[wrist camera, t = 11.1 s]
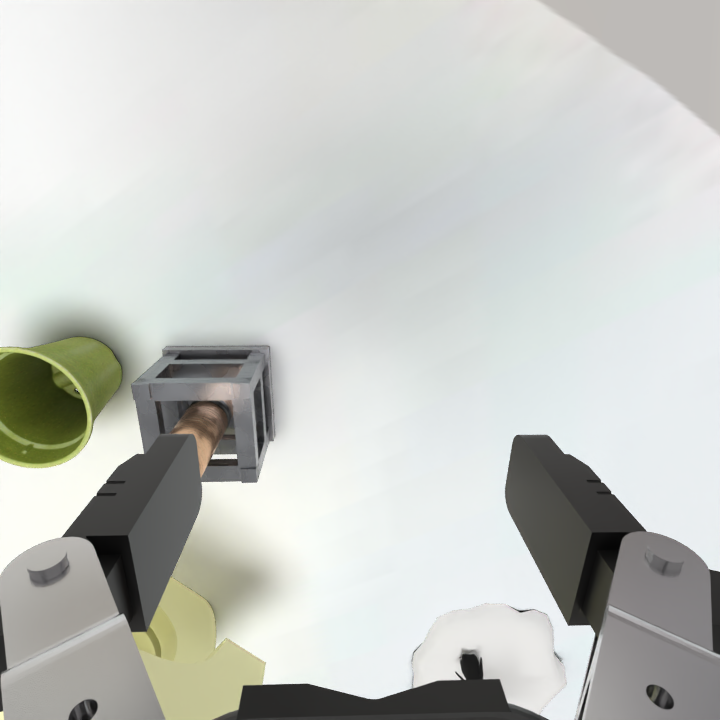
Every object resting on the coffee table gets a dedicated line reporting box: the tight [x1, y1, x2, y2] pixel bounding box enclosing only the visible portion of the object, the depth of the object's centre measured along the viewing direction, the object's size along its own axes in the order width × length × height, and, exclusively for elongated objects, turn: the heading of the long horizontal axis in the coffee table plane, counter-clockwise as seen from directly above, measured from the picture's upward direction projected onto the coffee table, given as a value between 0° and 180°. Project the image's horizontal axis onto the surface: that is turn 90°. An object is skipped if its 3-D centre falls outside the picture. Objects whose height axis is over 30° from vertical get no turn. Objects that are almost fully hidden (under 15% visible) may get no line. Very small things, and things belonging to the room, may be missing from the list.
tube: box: [169, 400, 233, 477], centre depth 33 cm, size 4×4×16 cm
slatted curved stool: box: [0, 577, 266, 720], centre depth 42 cm, size 30×16×18 cm, turn 135°
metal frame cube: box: [131, 346, 275, 483], centre depth 38 cm, size 9×9×8 cm
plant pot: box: [0, 337, 122, 468], centre depth 37 cm, size 9×9×9 cm
